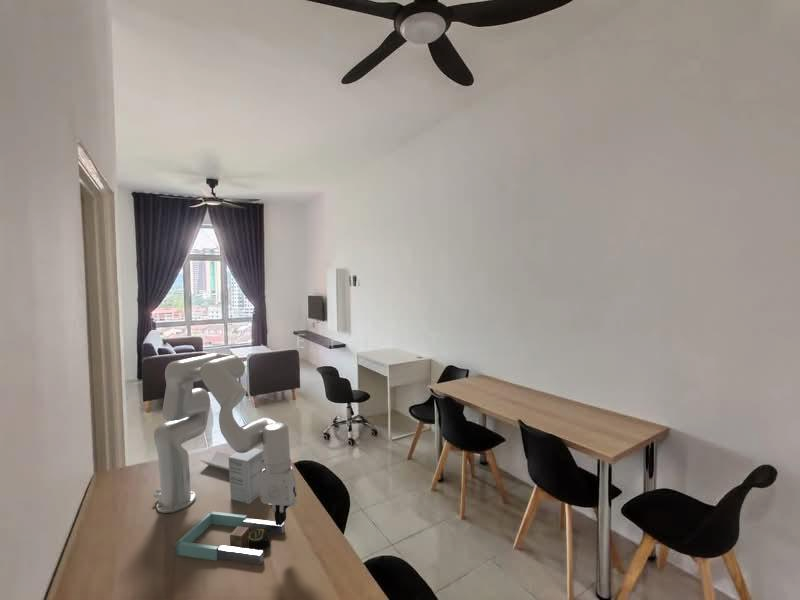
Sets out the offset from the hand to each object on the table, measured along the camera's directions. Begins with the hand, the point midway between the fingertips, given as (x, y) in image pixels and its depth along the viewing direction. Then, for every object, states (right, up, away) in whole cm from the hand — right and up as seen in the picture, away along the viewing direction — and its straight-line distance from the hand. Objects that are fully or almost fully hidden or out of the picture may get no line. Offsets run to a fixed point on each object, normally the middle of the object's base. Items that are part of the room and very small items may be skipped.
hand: (280, 522), depth 115 cm
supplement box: (-22, -7, +29) cm, 37 cm away
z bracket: (-37, -6, +50) cm, 62 cm away
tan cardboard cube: (-14, -9, +4) cm, 17 cm away
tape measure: (-7, -9, +3) cm, 12 cm away
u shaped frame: (-23, -9, +5) cm, 26 cm away
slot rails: (-10, -9, +3) cm, 13 cm away
